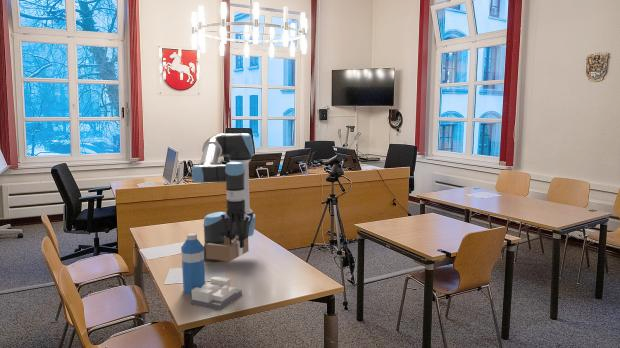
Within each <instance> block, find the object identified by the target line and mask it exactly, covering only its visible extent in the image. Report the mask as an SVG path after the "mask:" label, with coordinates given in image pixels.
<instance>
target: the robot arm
mask: <svg viewBox="0 0 620 348" xmlns="http://www.w3.org/2000/svg"><path fill="white" fill-rule="evenodd" d="M201 149H202V155H201V159H200V161H199V164H195V165H193V166H192V168H191V178H192V182H194V183H201V184H205V183H225V193H226V196H225V197H226V209H227V210H226V211H217V212H216V211H215V212H212V213H208V214H206V215H205V216H204V218H203V235H204V236H203V238H204V240H203V241H204V242H203V243H204V244H203V247H204V261H206V262H220V261H221V262H222V260H215V259H208V258H206V244H208V243H212V244H220V245H224V236H226V238H227V237H228V238H229V239H230V244H231V243H233V242H235V241H236V238H235V237H236V236H237V237H239V240H238V241H237V243H238V256H239V257H240V255H241V256H243V255H244V254H243V247H244V240H245V239H247V238H248V239H249V237H252V236H254V233H255V226H256V225H255V224H256V214H255V213H254V212H253V209H251V207H250V203H251V202H250V201H251V199H250V175H249V174H250V171H249V169H250V168H249V164H250V162H251V161H252V157H254V156H255V152H254V151H255V150H254V146H253V139H252V135H251V134H250V133H243V132H241V133H238V132H236V133H217V134H215V135H213V136H211V137H208V139H207V140H206V141H205V142H204V143H203V145H202V148H201ZM220 157H228V161H229V162H226V164H219V163H218V162H219V159H220ZM242 254H243V255H242Z"/></svg>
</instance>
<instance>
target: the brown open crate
mask: <svg viewBox="0 0 620 348" xmlns="http://www.w3.org/2000/svg"><path fill="white" fill-rule="evenodd" d="M235 238H236V241H235V242H233V243H231V244H230V239H229V238H228V237H227V238H226V236H224V245H220V244H212V243H208V244H206V258H208V259H215V260H222V261H223V262H231V261H234V260H235V259H237V258H239V257H240V256H243V255H244V254H247V253H248V252H249V237H248V238H247V239H245V240H244V247H243V254H242V255H240V256H238V243H237V241H238V240H239V237H237V236H236V237H235ZM222 261H221V262H222Z"/></svg>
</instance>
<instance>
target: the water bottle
mask: <svg viewBox="0 0 620 348" xmlns="http://www.w3.org/2000/svg"><path fill="white" fill-rule="evenodd" d="M180 251H181V267H182V269H181V270H182V271H181V272H182V285H183V286H182V289H183V292H184V294H185V295H191V296H192V289H194V288H196V287H198V288H201V287H202V286H203V285H204V284H206V274H205V260H204V244H202V243H201V242H200V240H199V239H198V234H197V233H196V232H191V233H190V232H189V233H188V234H186V240H185V241H184V242H183V244H182V246H181V248H180Z"/></svg>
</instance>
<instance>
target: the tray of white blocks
mask: <svg viewBox="0 0 620 348" xmlns="http://www.w3.org/2000/svg"><path fill="white" fill-rule="evenodd" d="M242 295H243V290H242V289H239V288H237V287H233V286H231V279H230V278H226V277H219V276H212V277H210V283H205V284H204V285H203V286H202V287H201V288H198V287H196V288H194V289H192V295H191V299H190V305H195V306H199V307H204V308H209V309H214V310H219V311H221V310H222V309H224V308H225V307H227V306H228V305H230V304H231V303H232V302H234V301H235V300H237V299H238V298H239V297H240V296H242Z"/></svg>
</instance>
